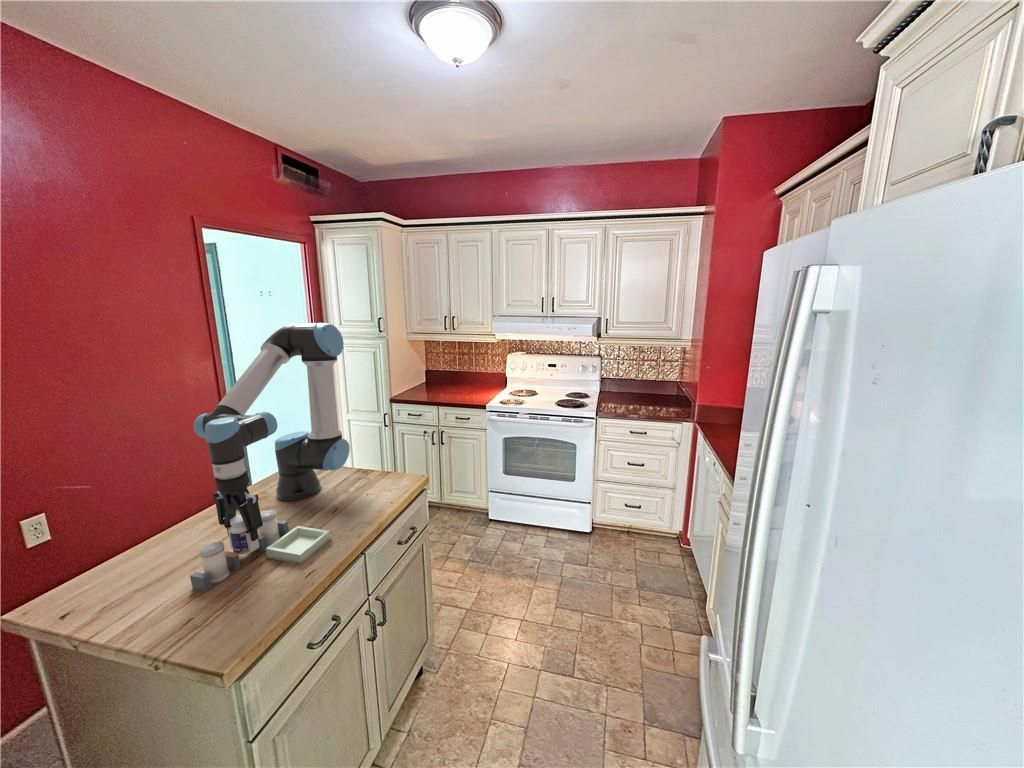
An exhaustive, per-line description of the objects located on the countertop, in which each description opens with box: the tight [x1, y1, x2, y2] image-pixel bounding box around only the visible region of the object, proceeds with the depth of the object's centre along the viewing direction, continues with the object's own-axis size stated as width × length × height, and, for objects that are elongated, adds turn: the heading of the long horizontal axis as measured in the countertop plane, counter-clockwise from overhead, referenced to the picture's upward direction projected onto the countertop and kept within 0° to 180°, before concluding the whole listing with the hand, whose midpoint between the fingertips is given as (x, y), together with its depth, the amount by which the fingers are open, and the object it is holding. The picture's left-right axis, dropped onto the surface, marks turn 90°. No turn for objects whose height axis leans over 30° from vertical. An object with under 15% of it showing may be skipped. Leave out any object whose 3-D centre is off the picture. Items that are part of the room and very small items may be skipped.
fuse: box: [258, 509, 281, 547], centre depth 122 cm, size 5×5×9 cm
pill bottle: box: [230, 514, 250, 555], centre depth 114 cm, size 6×6×10 cm
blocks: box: [189, 519, 290, 593], centre depth 114 cm, size 27×4×4 cm, turn 165°
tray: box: [265, 525, 332, 565], centre depth 119 cm, size 12×12×3 cm
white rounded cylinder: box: [199, 541, 231, 585], centre depth 106 cm, size 5×5×9 cm
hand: (245, 547), depth 115 cm, fingers closed on pill bottle, 6 cm apart
